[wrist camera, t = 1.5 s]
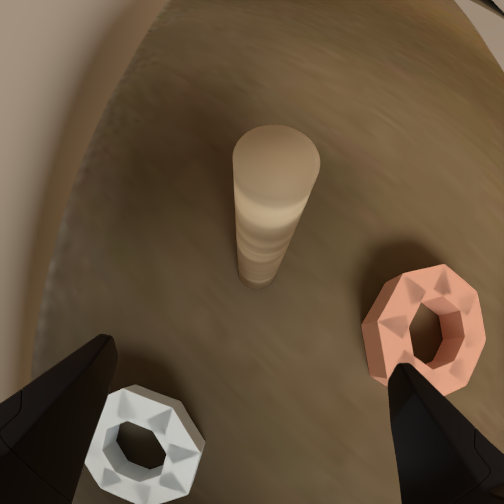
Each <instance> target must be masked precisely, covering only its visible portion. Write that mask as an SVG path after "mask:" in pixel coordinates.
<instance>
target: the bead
mask: <svg viewBox="0 0 504 504" xmlns="http://www.w3.org/2000/svg"><path fill="white" fill-rule="evenodd" d="M125 421H129V422H132V423H134V424H137V425H139V426H141V427H144V428H146V429H149V430H152V431H153V433H154V434H155V436H156V438H157V439H158V441H159V442H160V444H161V446H162V447H163V449H164V450H165V452H166V458H165V462H164V465H161V466H159V467H156V468H153V469H150V470H149V469H147V468H144V467H142V466H139V465H137V464H134V463H132V462H130V461H128V460H127V458H126V457H125V455H124V453H123V452H122V450H121V449H120V447H119V445H118V443H117V442H116V439H117V435H118V431H119V426H120V424H121V423H123V422H125ZM204 445H205V441H204V439H203V437H202V436H201V434H200V433H199V431H198V429H197V428H196V426H195V425H194V423H193V421H192V420H191V418H190V416H189V415H188V413H187V411H186V409H185V408H184V406H183V404H182V403H181V401H179V400H176V399H173V398H170V397H167V396H165V395H162V394H159V393H157V392H154V391H151V390H149V389H146V388H144V387H141V386H139V385H136V384H135V385H132V386H129V387H125V388H122V389H120V390H118V391H116V392H114V393H111V394H109V395H108V397H107V401H106V403H105V406H104V409H103V412H102V414H101V417H100V420H99V422H98V425H97V428H96V431H95V433H94V436H93V439H92V442H91V445H90V448H89V451H88V454H87V457H86V460H85V464H86V466H87V468H88V469H89V471H90V473H91V474H92V476H93V477H94V479H95V480H96V482H97V483H98V485H99V487H100V488H101V489H103V490H105V491H108V492H110V493H112V494H114V495H116V496H119V497H121V498H123V499H125V500H128V501H130V502H133V503H135V504H161V503H164V502H167V501H170V500H174V499H177V498H180V497H182V496H185V495H188V494H189V491H190V489H191V486H192V483H193V481H194V478H195V474H196V471H197V468H198V465H199V461H200V458H201V455H202V451H203V448H204Z"/></svg>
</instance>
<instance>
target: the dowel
mask: <svg viewBox="0 0 504 504" xmlns="http://www.w3.org/2000/svg"><path fill="white" fill-rule="evenodd" d="M319 169H320V157H319V153H318V151H317V149H316V147H315V145H314V144H313V143H312V141H311V140H310V139H309V138H308V137H307V136H305V135H304V134H303V133H301V132H300V131H298V130H296V129H293V128H291V127H287V126H283V125H263V126H259V127H256V128H254V129H252V130H250V131H248V132H247V133H245V134H244V135H243V136H242V137H241V138H240V139H239V140H238V142H237V144H236V146H235V148H234V152H233V175H234V197H235V217H236V237H237V256H238V273H239V277H240V279H241V281H242V283H243V284H244V285H246V286H247V287H249V288H252V289H262V288H265V287H267V286H268V285H269V284H271V282H272V281H273V279H274V277H275V275H276V272H277V270H278V268H279V266H280V263H281V261H282V259H283V256H284V254H285V252H286V249H287V247H288V245H289V242H290V240H291V238H292V235H293V233H294V231H295V228H296V226H297V224H298V221H299V219H300V217H301V214H302V212H303V209H304V207H305V205H306V202H307V200H308V197H309V195H310V193H311V190H312V188H313V185H314V183H315V180H316V178H317V176H318V173H319Z"/></svg>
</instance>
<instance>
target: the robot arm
mask: <svg viewBox="0 0 504 504" xmlns="http://www.w3.org/2000/svg"><path fill="white" fill-rule="evenodd" d="M117 359H118V353H117V349H116V346H115V342H114V339H113V337H112V336H111V335H106V334H99V335H98V336H96V337H95V338H93V339H92V340H90V341H89V342H87V343H86V344H85V345H83V346H82V347H80V348H79V349H77V350H76V351H74V352H73V353H72V354H70V355H69V356H67V357H66V358H64V359H63V360H62V361H60V362H59V363H57V364H56V365H54V366H53V367H52V368H50V369H49V370H47V371H46V372H44V373H43V374H42V375H40V376H39V377H37V378H36V379H35V380H33V381H32V382H30V383H29V384H28V385H26V386H25V387H23V388H22V390H21V389H20V390H19V391H18V392H16V393H15V394H14V395H12V396H10V397H9V398H7V399H6V400H5V401H3V402H1V403H0V504H72V503H71V502H72V501H73V498H74V494H75V491H76V488H77V484H78V481H79V478H80V475H81V472H82V469H83V466H84V463H85V460H86V457H87V454H88V451H89V448H90V445H91V442H92V439H93V436H94V433H95V431H96V428H97V425H98V422H99V420H100V417H101V414H102V412H103V409H104V406H105V403H106V401H107V397H108V394H109V390H110V386H111V382H112V378H113V374H114V371H115V367H116V363H117ZM388 396H389V409H390V422H391V430H392V436H393V442H394V448H395V454H396V461H397V468H398V475H399V483H400V492H401V501H402V504H504V454H503V453H502V452H501V451H500V450H498V449H497V448H496V447H495V446H494V445H493V444H492V443H491V442H490V441H488V440H487V439H486V438H485V437H484V436H483V435H482V434H481V433H480V432H479V431H478V430H477V429H476V428H475V427H474V426H473V425H472V424H471V423H470V422H469V421H468V420H467V419H466V418H465V417H464V416H463V415H462V414H461V413H460V412H459V411H458V410H457V409H456V408H455V407H454V406H453V405H452V404H451V403H450V402H449V401H448V400H447V399H446V398H445V397H444V396H443V395H442V394H441V393H440V392H439V391H438V390H437V389H436V388H435V387H434V386H433V385H432V384H431V383H430V382H429V381H428V380H427V379H426V378H425V377H424V376H423V375H422V374H421V373H420V372H419V371H418V370H417V369H416V368H415V367H414V366H413V365H412V364H410V363H398V364H397V365H396V367H395V368H394V370H393V372H392V374H391V376H390V377H389V379H388Z"/></svg>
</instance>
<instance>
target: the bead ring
mask: <svg viewBox="0 0 504 504" xmlns="http://www.w3.org/2000/svg"><path fill="white" fill-rule="evenodd" d="M420 303H423V304H424V305H425V306H427V307H428V308H429V309H431V310H432V311H433V312H434V313H436V314H437V315H438V316H439V320H440V326H441V331H442V337H443V341H442V343H441V345H440V347H439V349H438V351H437V353H436V355H435V357H434V359H433V361H432V362H429V363H426V364H424V363H423V362H421V361H420V360H418V359H417V358H416V357H414V356H413V349H412V344H411V338H410V332H409V325H410V323H411V321H412V319H413V317H414V315H415V313H416V311H417V309H418V307H419V305H420ZM361 328H362V333H363V339H364V344H365V350H366V356H367V362H368V368H369V374H370V376H371V377H373V378H374V379H376V380H377V381H379V382H380V383H382V384H383V385H385V386H386V387H388V379H389V377H390V376H391V374H392V372H393V370H394V368H395V367H396V365H397V364H398V363H410V364H412V365H413V366H414V367H415V368H416V369H417V370H418V371H419V372H420V373H421V374H422V375H423V376H424V377H425V378H426V379H427V380H428V381H429V382H430V383H431V384H432V385H433V386H434V387H435V388H436V389H437V390H438V391H439V392H440V393H441V394H442V395H443V396H445V395H447V394H449V393H451V392H454V391H456V390H458V389H460V388H462V387H464V386H466V385H467V383H468V381H469V379H470V376H471V374H472V372H473V370H474V368H475V365H476V363H477V361H478V358H479V356H480V354H481V351H482V349H483V346H484V344H485V341H486V337H485V331H484V325H483V319H482V314H481V309H480V304H479V299H478V294H477V292H476V291H475V290H474V289H473V288H472V287H471V286H470V285H468V284H467V283H466V282H465V281H464V280H463V279H462V278H460V277H459V276H458V275H457V274H456V273H455V272H453V271H452V270H451V269H450V268H449V267H447V266H446V265H445V264H442V265H438V266H433V267H429V268H424V269H420V270H415V271H411V272H406V273H403V274H401V275H399V276H397V277H395V278H393V279H391V280H389V281H387V282H385V284H384V286H383V288H382V289H381V291H380V293H379V295H378V297H377V298H376V300H375V302H374V304H373V305H372V307H371V309H370V311H369V312H368V314H367V316H366V318H365V319H364V321H363V323H362V324H361Z"/></svg>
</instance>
